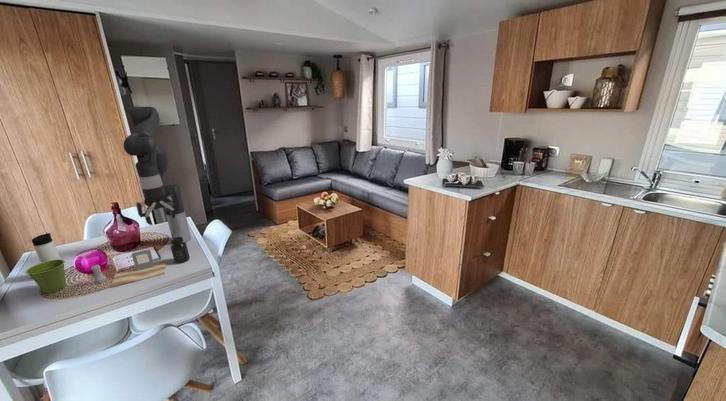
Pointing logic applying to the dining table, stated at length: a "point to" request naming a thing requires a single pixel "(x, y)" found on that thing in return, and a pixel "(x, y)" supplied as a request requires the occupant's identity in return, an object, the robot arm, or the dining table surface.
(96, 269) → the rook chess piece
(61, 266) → the plant pot
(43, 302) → the dining table surface
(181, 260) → the supplement bottle
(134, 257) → the grey picture frame
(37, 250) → the travel mug
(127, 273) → the mat
